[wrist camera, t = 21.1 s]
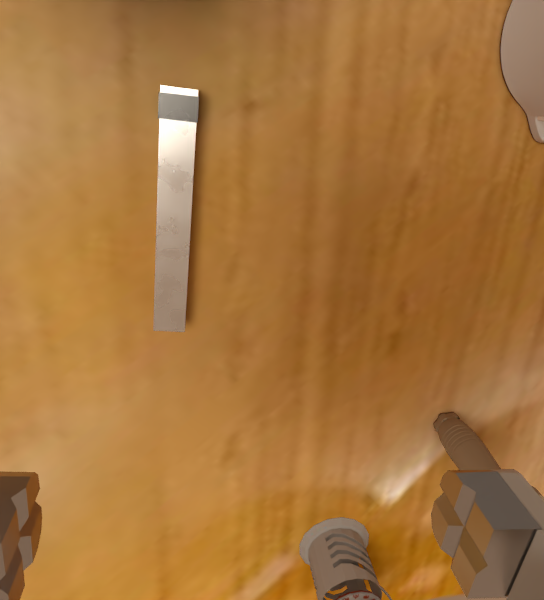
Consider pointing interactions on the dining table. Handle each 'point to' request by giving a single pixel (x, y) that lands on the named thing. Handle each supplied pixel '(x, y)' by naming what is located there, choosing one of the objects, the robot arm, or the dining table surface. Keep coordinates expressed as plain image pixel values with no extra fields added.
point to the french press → (340, 560)
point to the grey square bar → (174, 204)
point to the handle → (464, 445)
